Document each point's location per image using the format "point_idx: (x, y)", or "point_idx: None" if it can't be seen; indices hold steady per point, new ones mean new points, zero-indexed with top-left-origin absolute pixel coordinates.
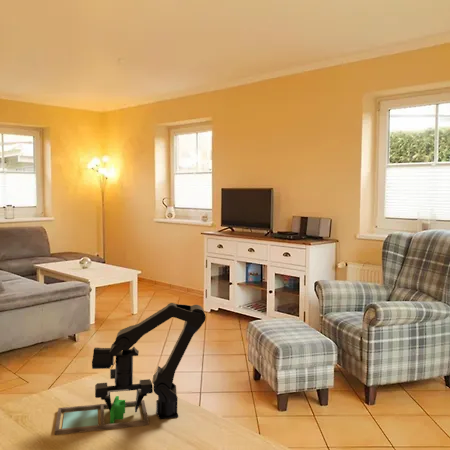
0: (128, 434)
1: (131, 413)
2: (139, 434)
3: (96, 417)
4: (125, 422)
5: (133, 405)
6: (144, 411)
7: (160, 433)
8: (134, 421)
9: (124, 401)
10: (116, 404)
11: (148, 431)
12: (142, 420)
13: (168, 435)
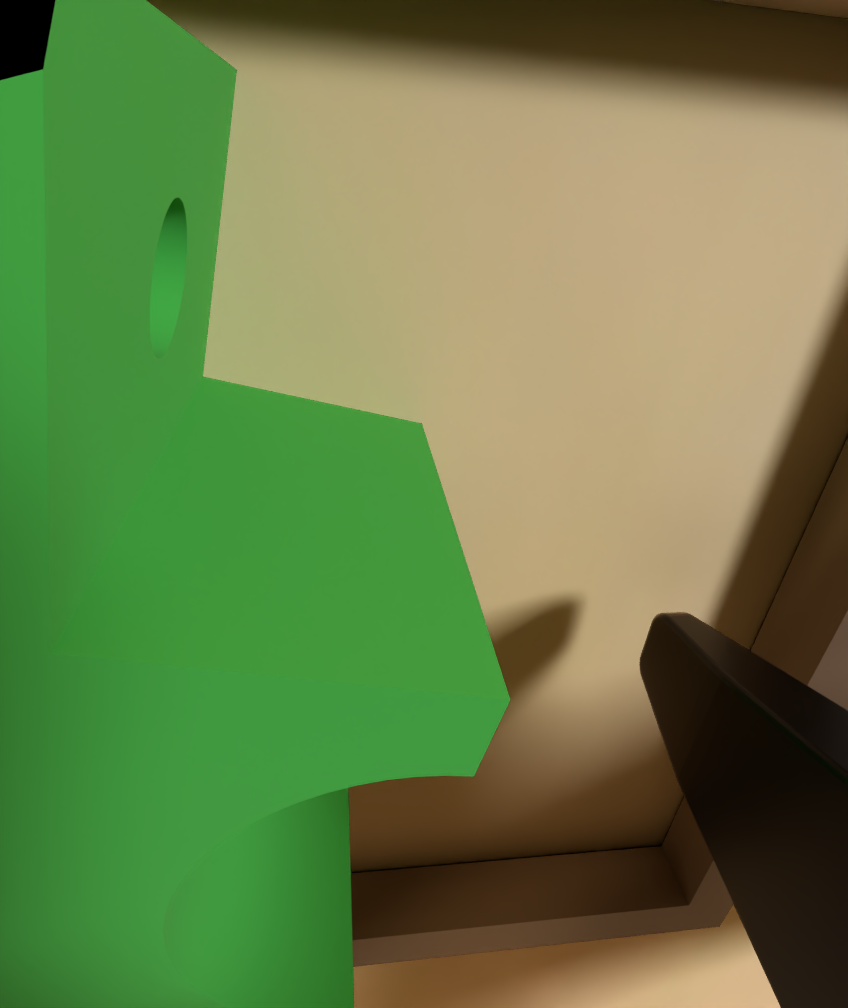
0: (380, 998)
1: (558, 520)
2: (505, 996)
3: None
4: (364, 947)
5: (787, 6)
6: (827, 679)
7: (721, 983)
8: (514, 930)
9: (445, 746)
10: (80, 991)
11: (622, 960)
12: (642, 914)
13: (771, 1002)
